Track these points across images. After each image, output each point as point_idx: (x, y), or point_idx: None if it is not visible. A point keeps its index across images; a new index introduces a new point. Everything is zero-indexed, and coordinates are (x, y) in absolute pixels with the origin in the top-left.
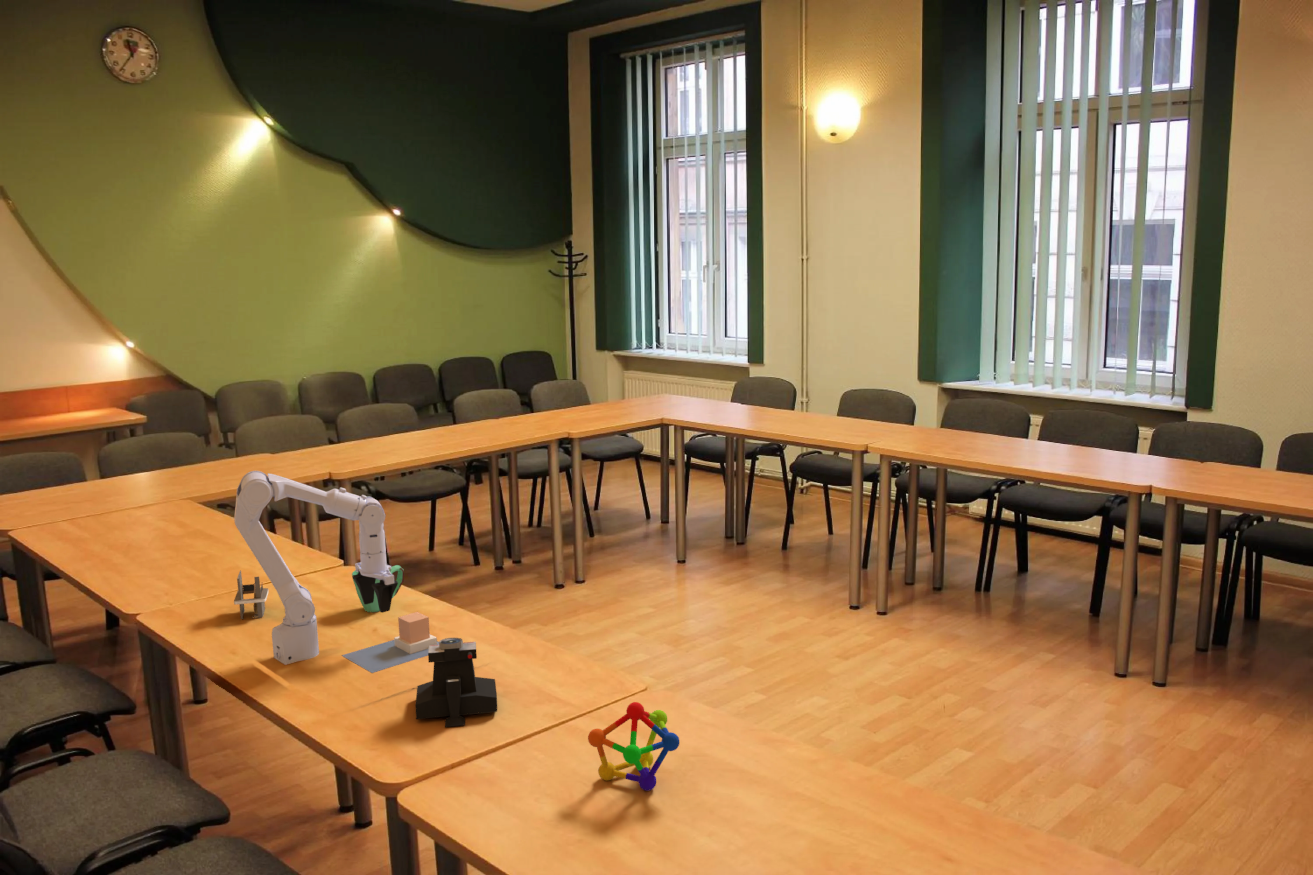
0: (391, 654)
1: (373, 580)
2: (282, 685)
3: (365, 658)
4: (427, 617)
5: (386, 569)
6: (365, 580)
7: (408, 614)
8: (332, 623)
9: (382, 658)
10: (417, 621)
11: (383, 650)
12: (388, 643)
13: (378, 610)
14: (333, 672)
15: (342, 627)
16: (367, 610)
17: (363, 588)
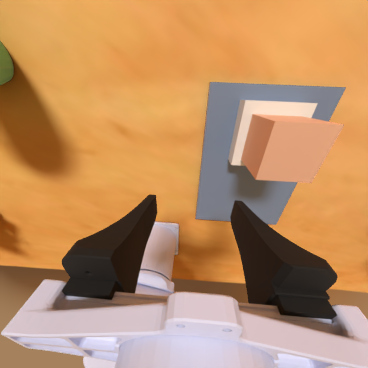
0: (252, 181)
1: (130, 239)
2: (209, 266)
3: (230, 207)
4: (341, 128)
5: (268, 351)
6: (133, 268)
7: (266, 152)
8: (54, 162)
9: (251, 195)
10: (321, 161)
11: (228, 180)
12: (210, 160)
13: (9, 58)
14: (223, 236)
15: (81, 161)
16: (5, 82)
17: (143, 249)
